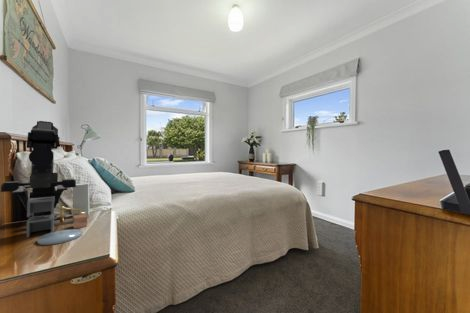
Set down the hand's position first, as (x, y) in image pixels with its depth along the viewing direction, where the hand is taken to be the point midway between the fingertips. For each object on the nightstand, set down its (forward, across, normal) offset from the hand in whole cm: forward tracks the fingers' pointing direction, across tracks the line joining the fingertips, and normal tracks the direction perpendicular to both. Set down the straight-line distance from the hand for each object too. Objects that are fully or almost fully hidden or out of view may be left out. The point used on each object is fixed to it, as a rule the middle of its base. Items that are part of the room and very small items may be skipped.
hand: (41, 209), depth 72 cm
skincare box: (+8, +12, +17) cm, 23 cm away
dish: (+8, +6, -11) cm, 15 cm away
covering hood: (+2, 0, 0) cm, 2 cm away
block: (+8, +11, 0) cm, 14 cm away
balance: (+8, +6, +9) cm, 14 cm away
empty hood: (+8, 0, 0) cm, 8 cm away
